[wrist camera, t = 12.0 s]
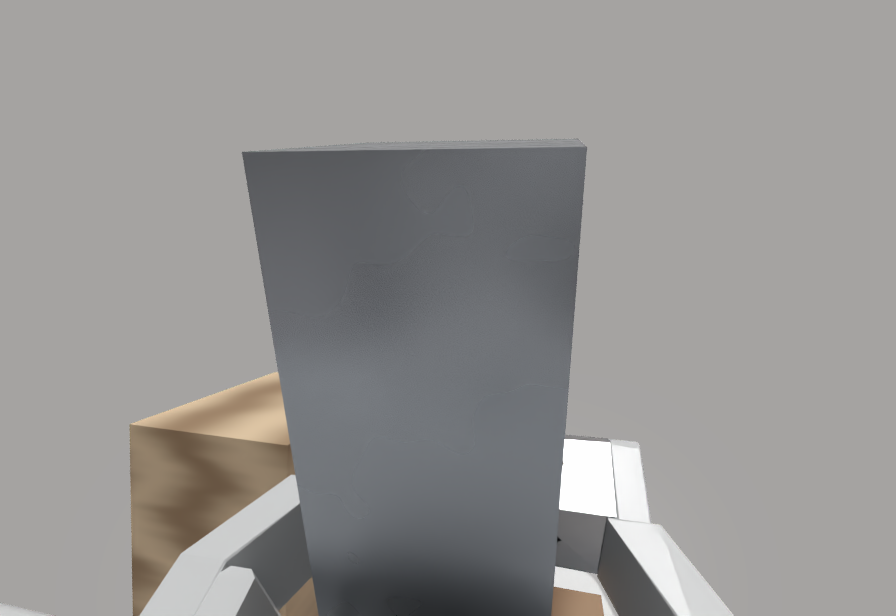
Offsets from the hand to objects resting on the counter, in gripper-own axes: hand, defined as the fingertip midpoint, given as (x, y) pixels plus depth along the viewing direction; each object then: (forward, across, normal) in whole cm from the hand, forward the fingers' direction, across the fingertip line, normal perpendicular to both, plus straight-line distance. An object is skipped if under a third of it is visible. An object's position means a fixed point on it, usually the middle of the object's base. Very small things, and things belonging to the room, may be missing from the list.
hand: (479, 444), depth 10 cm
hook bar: (-5, 0, +3) cm, 6 cm away
